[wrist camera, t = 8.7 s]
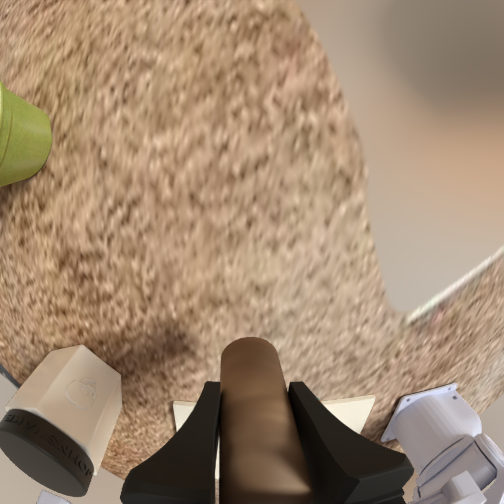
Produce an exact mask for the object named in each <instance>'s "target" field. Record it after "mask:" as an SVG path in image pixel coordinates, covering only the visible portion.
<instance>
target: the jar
mask: <svg viewBox="0 0 504 504" xmlns="http://www.w3.org/2000/svg"><path fill="white" fill-rule="evenodd" d="M121 409H122V390H121V375H120V374H119V373H118V372H117V371H115V370H114V369H113V368H111V367H110V366H109V365H107V364H106V363H105V362H104V361H102V360H101V359H100V358H99V357H97V356H96V355H95V354H94V353H92V352H91V351H90V350H89V349H88V348H86V347H85V346H84V345H82V344H81V345H76V346H72V347H67V348H62V349H57V350H53V351H51V352H50V353H49V354H48V355H47V356H46V357H45V358H44V360H43V361H42V362H41V363H40V364H39V365H38V367H37V368H36V369H35V370H34V371H33V373H32V374H31V375H30V376H29V377H28V379H27V380H26V381H25V382H24V383H23V385H22V386H21V387H20V388H19V390H18V391H17V392H16V393H15V395H14V396H13V397H12V399H11V400H10V401H9V402H8V404H7V405H6V406H5V410H6V413H7V414H6V415H5V417H4V418H3V420H2V421H1V422H0V448H1V449H2V451H3V452H4V453H5V455H6V456H7V457H8V458H9V459H10V460H11V461H12V462H13V463H14V464H15V465H16V466H17V467H18V468H19V469H21V470H22V471H23V472H24V473H26V474H27V475H28V476H30V477H31V478H33V479H34V480H35V481H37V482H39V483H40V484H42V485H44V486H46V487H47V488H49V489H51V490H54V491H56V492H58V493H61V494H64V495H67V496H73V497H82V496H84V495H86V493H87V491H88V487H89V485H90V482H91V479H92V476H96V475H97V474H98V471H99V468H100V465H101V462H102V460H103V457H104V454H105V451H106V448H107V446H108V443H109V440H110V438H111V435H112V432H113V430H114V427H115V424H116V422H117V419H118V417H119V414H120V411H121Z"/></svg>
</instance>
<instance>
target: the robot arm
mask: <svg viewBox="0 0 504 504" xmlns="http://www.w3.org/2000/svg"><path fill="white" fill-rule="evenodd" d="M456 387H457V384H456V383H452V384H449V385H445V386H442V387H438V388H435V389H431V390H427V391H423V392H420V393H415V394H411V395H407V396H403V397H402V398H401V399H400V401H399V403H398V406H397V408H396V410H395V412H394V414H393V416H392V418H391V420H390V422H389V424H388V426H387V428H386V430H385V432H384V434H383V435H382V437H381V439H380V440H381V442H385V441H389V440H393V439H396V438H397V440H398V442H399V443H400V445H401V447H402V448H403V450H404V452H405V454H404V453H400V452H397V451H394V450H391V449H388V448H386V447H383V446H381V445H379V444H376V443H374V442H372V441H370V440H368V439H367V438H365V437H363V436H361V435H360V434H358V433H356V432H355V431H353V430H352V429H351V428H349V427H348V426H346V425H345V424H344V423H342V422H341V421H340V420H339V419H338V418H337V417H335V416H334V415H333V414H332V413H331V412H330V411H329V410H328V409H327V408H326V407H325V406H324V405H323V404H322V403H321V402H320V401H319V400H318V399H317V397H316V396H315V395H314V394H313V393H312V392H311V391H310V389H309V388H308V387H307V386H306V385H305V383H304V382H303V381H301V382H290V385H289V390H288V396H289V399H290V403H291V407H292V411H293V415H294V418H295V422H296V426H297V430H298V434H299V438H300V441H301V445H302V449H303V453H304V457H305V460H306V464H307V468H308V472H309V476H310V479H311V483H312V487H313V491H314V495H315V498H314V500H313V501H312V502H311V503H310V504H406V503H405V501H404V499H403V497H402V496H403V495H404V491H403V489H402V487H403V486H404V485H405V484H406V482H407V481H408V480H409V479H410V478H411V476H412V475H413V473H414V469H415V470H416V473H417V474H418V476H419V477H418V478H417V479H415V481H416V483H417V485H418V486H416V487H415V489H414V492H413V501H411V502H409V503H407V504H504V454H503V453H502V451H501V450H500V449H499V448H498V446H497V445H496V444H495V443H494V442H493V441H492V440H491V439H490V438H489V437H488V436H487V435H486V434H484V433H483V434H481V430H482V427H481V421H480V419H479V416H478V415H477V413H476V412H475V411H474V410H473V409H472V408H471V407H470V406H469V404H468V403H467V402H466V401H465V400H464V399H463V398H462V397H461V396H460V395H459V394H458V393H457V391H456V390H455V389H456ZM220 388H221V382H212V381H207V382H206V383H205V385H204V388H203V391H202V393H201V395H200V397H199V400H198V401H197V403H196V405H195V407H194V409H193V410H192V412H191V413H190V415H189V416H188V418H187V419H186V421H185V422H184V424H183V425H182V426H181V428H180V429H179V430H178V431H177V432H176V434H175V435H174V436H173V437H172V438H171V439H170V440H169V441H168V442H167V443H166V444H165V445H164V446H163V447H162V448H161V449H160V450H158V451H157V452H156V453H155V454H153V455H152V456H151V457H150V458H148V459H147V460H146V461H144V462H142V463H141V464H139V465H138V466H136V467H135V468H133V469H131V471H130V472H129V474H128V476H127V478H126V480H125V482H124V484H123V487H122V492H121V495H120V499H121V502H122V503H123V504H215V469H216V459H217V451H218V443H219V419H220ZM406 455H407V456H406ZM413 467H414V468H413ZM495 478H496V480H495V482H494V484H493V485H492V486H491V487H490V488H489V489H488V490H487V491H486V492H484V493H482V492H481V491H482V490H483V489H484V488H485V487H486V486H487V485H489V484H490V483H491V482H492V481H493V480H494V479H495ZM36 504H72V503H71V502H69V501H68V500H66V499H64V498H62V497H60V496H57V495H55V494H52V493H50V492H48V491H46V490H42V491H41V493H40V495H39V498H38V500H37V503H36Z"/></svg>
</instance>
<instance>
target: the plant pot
mask: <svg viewBox="0 0 504 504" xmlns="http://www.w3.org/2000/svg"><path fill="white" fill-rule="evenodd" d="M51 144H52V133H51V127H50V119H49V117H48V116H47V114H46V113H45V112H44V111H42V110H40V109H39V108H37V107H36V106H34V105H32V104H30V103H29V102H27V101H25V100H24V99H22V98H20V97H19V96H17V95H16V94H14V93H12V92H11V91H9V90H8V89H6V87H5V85H4V84H3V83H2V82H1V80H0V187H2V186H5V185H8V184H11V183H14V182H18V181H22V180H25V179H28V178H30V177H31V176H33V175H34V174H36V173H37V172H38V171H39V170H40V169H41V168H42V166H43V165H44V163H45V161H46V159H47V157H48V155H49V152H50V148H51Z"/></svg>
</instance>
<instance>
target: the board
mask: <svg viewBox="0 0 504 504" xmlns="http://www.w3.org/2000/svg"><path fill="white" fill-rule="evenodd" d="M375 398H376V397H375V396H374V394H373V395H366V396H360V397H352V398H345V399H336V400H327V401H321V402H322V404H323V405H324V406H325V407H326V408H327V409H328V410H329V411H330V412H331V413H332V414H333V415H334V416H335V417H337V418H338V419H339V420H340V421H341V422H342V423H344V424H345V425H346V426H348V427H349V428H351V429H352V430H353V431H355V432H356V433H358V434H360V432H361V430H362V428H363V426H364V424H365V422H366V419H367V417H368V415H369V413H370V410H371V408H372V406H373V403H374V401H375ZM196 403H197V402H184V401H174V403H173V408H174V415H175V422H176V428H177V431H178V430H179V429H180V428H181V426H182V425H183V424H184V422H185V421H186V419H187V418H188V416H189V415H190V413H191V412H192V410H193V409H194V407H195V405H196ZM215 479H219V443H218V451H217V459H216V469H215Z"/></svg>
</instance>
